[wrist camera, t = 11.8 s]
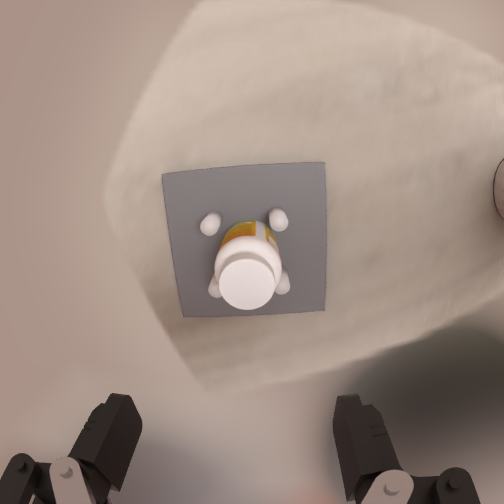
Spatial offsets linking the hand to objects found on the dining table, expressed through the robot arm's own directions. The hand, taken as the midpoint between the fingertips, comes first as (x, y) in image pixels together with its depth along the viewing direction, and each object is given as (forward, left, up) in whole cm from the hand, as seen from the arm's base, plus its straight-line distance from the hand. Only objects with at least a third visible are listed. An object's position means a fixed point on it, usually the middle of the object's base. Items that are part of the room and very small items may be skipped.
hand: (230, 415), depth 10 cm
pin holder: (0, 0, -22) cm, 22 cm away
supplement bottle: (0, 0, -21) cm, 21 cm away
